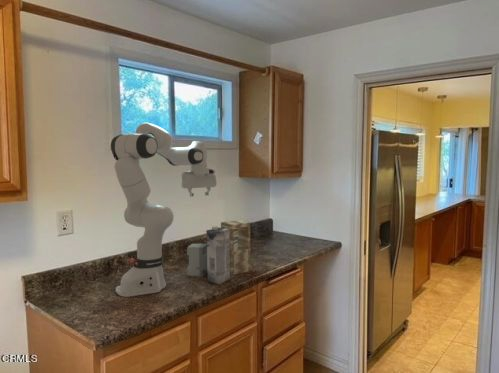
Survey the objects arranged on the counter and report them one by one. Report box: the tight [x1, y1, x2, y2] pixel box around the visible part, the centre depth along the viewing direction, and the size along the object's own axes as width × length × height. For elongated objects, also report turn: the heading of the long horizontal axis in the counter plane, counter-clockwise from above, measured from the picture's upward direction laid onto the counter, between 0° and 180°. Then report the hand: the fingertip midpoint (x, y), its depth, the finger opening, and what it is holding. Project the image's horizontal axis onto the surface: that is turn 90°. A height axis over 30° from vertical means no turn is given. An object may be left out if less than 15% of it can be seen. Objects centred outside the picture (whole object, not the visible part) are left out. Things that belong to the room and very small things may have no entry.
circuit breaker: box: [186, 243, 207, 277], centre depth 195 cm, size 8×14×15 cm, turn 78°
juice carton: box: [206, 225, 231, 285], centre depth 184 cm, size 9×10×27 cm
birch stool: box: [220, 219, 252, 276], centre depth 200 cm, size 12×10×26 cm
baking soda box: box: [234, 228, 238, 251], centre depth 239 cm, size 10×6×16 cm
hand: (199, 195), depth 209 cm, fingers open, 8 cm apart
